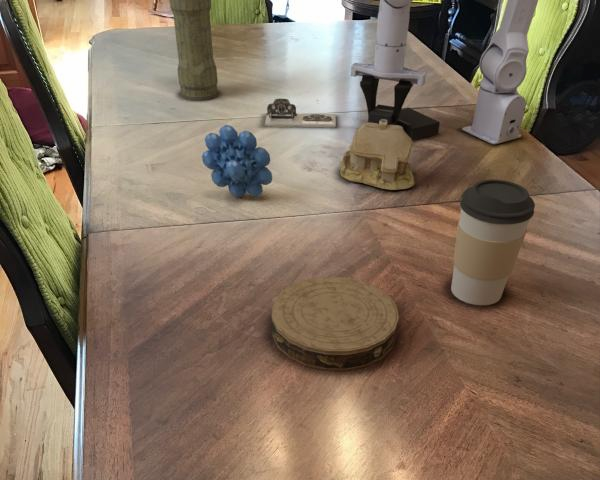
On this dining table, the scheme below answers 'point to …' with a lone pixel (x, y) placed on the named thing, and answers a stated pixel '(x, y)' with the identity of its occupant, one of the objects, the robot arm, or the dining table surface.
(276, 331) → the wood slice
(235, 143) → the blue knobbed flower
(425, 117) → the base pad
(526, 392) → the dining table surface
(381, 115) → the black rectangular block
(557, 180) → the dining table surface
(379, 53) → the robot arm
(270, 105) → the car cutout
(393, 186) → the ceramic model
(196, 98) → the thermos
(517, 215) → the coffee cup
